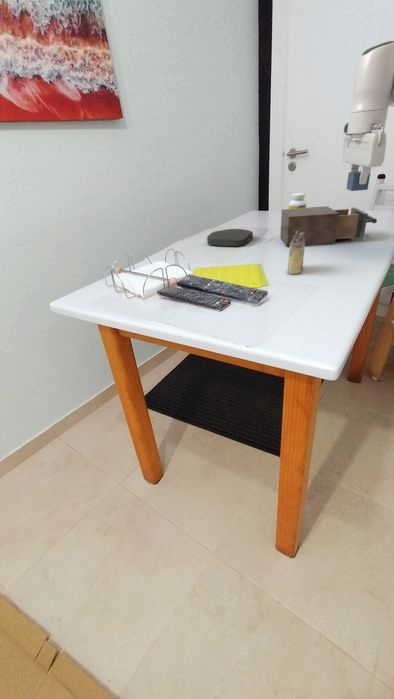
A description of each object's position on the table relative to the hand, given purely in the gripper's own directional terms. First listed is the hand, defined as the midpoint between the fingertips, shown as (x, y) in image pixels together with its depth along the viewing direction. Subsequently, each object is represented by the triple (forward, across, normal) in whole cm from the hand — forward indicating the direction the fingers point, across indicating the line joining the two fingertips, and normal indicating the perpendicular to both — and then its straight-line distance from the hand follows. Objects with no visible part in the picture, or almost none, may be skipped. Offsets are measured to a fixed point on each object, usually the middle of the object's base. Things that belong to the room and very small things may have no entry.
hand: (357, 182), depth 96 cm
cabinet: (+19, +12, +10) cm, 24 cm away
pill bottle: (+19, +35, +8) cm, 41 cm away
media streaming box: (+18, +18, +36) cm, 44 cm away
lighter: (+19, -17, +20) cm, 32 cm away
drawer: (+18, +12, -2) cm, 21 cm away
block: (+2, 0, 0) cm, 2 cm away
